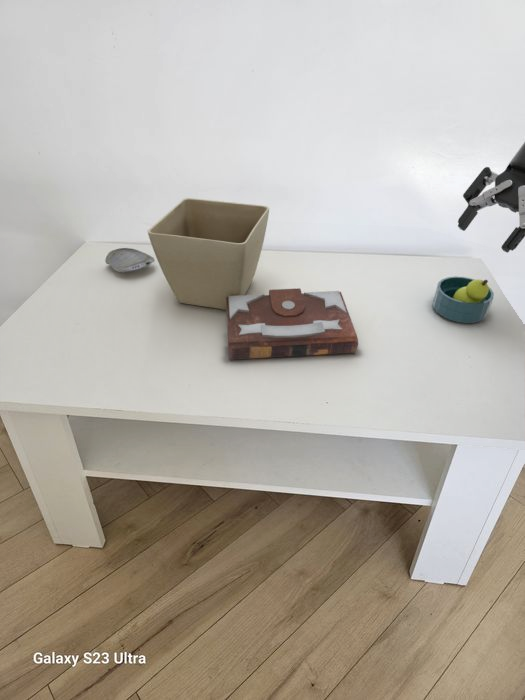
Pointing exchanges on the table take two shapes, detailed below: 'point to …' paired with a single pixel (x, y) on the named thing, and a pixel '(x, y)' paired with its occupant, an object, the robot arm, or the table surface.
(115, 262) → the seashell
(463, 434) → the table surface
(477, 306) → the bowl
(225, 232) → the flower pot
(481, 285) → the pear
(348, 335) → the book
